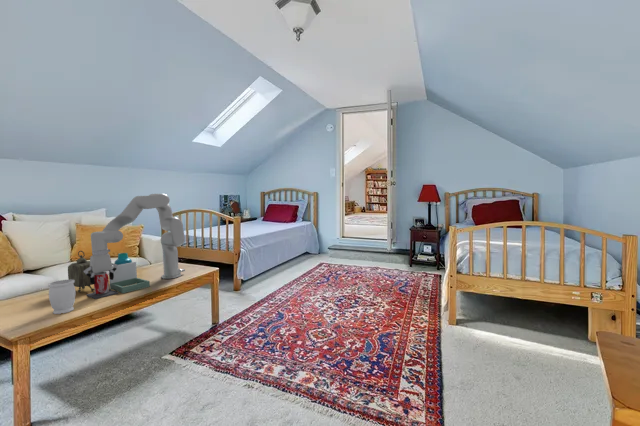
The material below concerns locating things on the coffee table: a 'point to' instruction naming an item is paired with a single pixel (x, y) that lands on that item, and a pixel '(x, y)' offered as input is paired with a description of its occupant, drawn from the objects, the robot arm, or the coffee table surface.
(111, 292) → the mat
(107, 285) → the soda can
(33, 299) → the coffee table surface
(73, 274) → the tabletop clock
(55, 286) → the jar
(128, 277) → the tray
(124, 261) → the vase
